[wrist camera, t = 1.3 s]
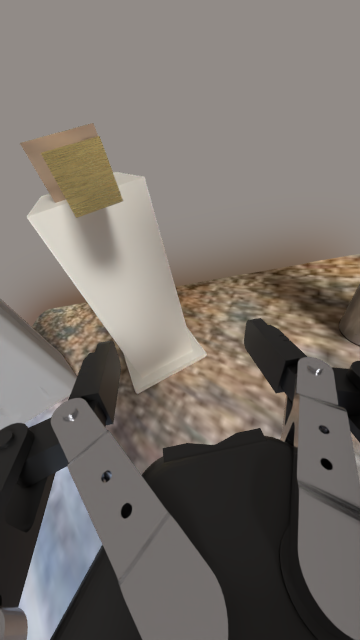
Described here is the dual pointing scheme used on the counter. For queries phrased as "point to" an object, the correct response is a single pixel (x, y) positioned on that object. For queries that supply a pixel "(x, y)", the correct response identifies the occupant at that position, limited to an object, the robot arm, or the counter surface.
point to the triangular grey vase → (28, 371)
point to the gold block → (84, 176)
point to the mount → (117, 267)
